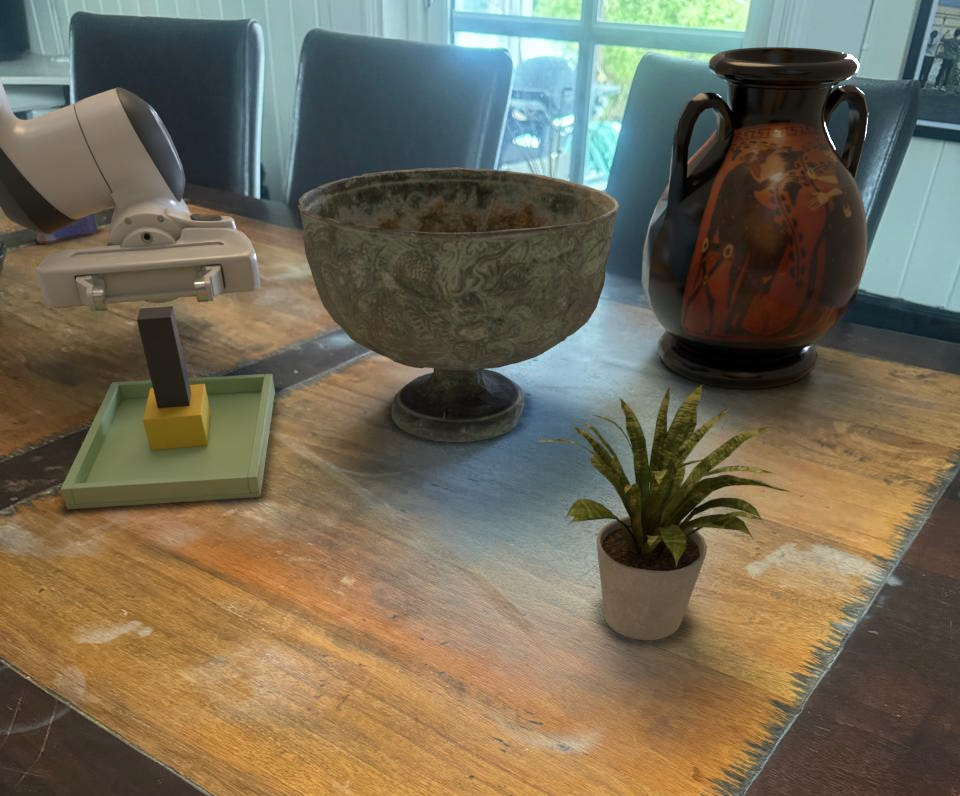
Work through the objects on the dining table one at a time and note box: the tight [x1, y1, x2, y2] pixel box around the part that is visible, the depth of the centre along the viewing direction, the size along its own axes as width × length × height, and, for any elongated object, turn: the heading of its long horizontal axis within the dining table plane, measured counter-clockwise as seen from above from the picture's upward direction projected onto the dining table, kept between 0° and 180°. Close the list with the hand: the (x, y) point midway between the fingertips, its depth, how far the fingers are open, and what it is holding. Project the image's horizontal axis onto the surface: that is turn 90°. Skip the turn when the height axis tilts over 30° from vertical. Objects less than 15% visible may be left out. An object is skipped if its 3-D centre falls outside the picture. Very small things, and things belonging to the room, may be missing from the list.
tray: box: [60, 373, 276, 510], centre depth 85 cm, size 16×22×2 cm
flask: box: [34, 213, 98, 245], centre depth 137 cm, size 9×3×11 cm, turn 134°
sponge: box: [136, 305, 211, 450], centre depth 84 cm, size 5×7×11 cm
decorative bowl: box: [297, 166, 620, 443], centre depth 85 cm, size 26×26×20 cm
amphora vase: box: [640, 46, 870, 390], centre depth 91 cm, size 22×22×28 cm
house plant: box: [535, 383, 795, 641], centre depth 59 cm, size 14×14×16 cm
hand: (150, 297), depth 86 cm, fingers open, 8 cm apart
